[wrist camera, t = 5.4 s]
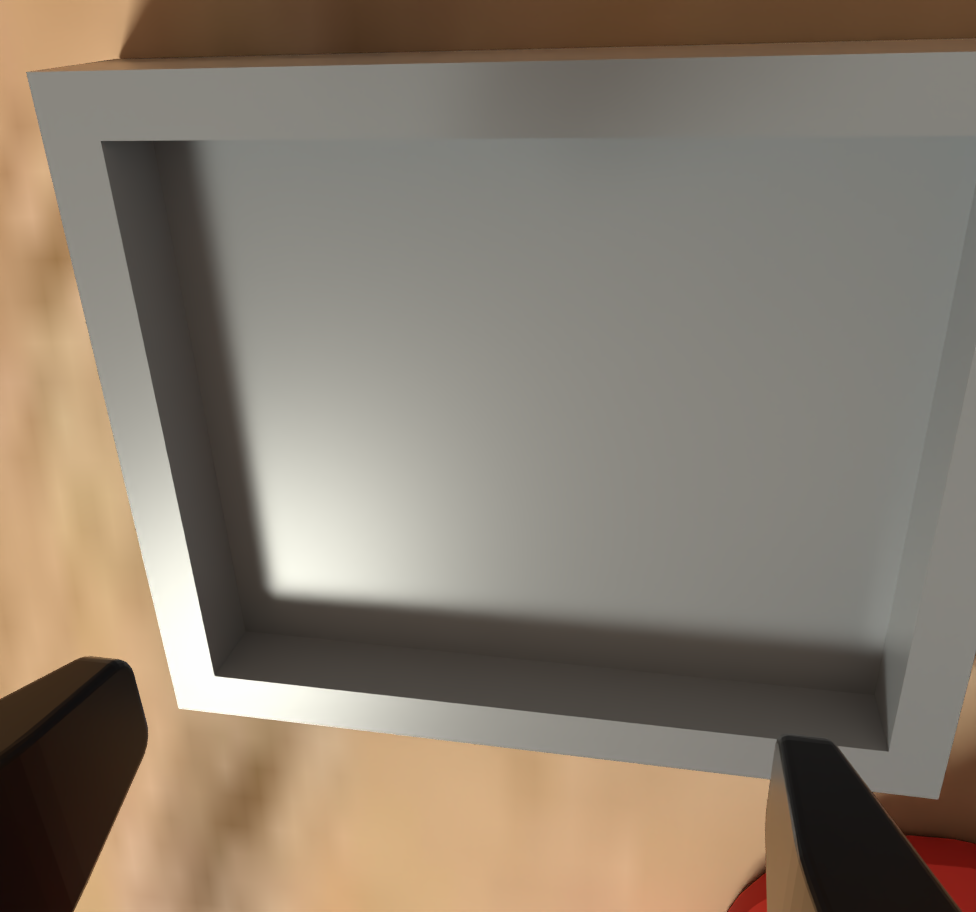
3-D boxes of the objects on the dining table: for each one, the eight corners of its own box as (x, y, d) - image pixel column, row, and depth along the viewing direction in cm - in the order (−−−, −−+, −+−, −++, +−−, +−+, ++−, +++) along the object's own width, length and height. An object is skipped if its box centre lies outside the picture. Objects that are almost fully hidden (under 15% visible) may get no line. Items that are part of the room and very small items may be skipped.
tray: (1059, 35, 11) (1128, 47, 9) (910, 705, 15) (938, 799, 14) (116, 59, 13) (25, 72, 11) (230, 635, 18) (178, 708, 16)
